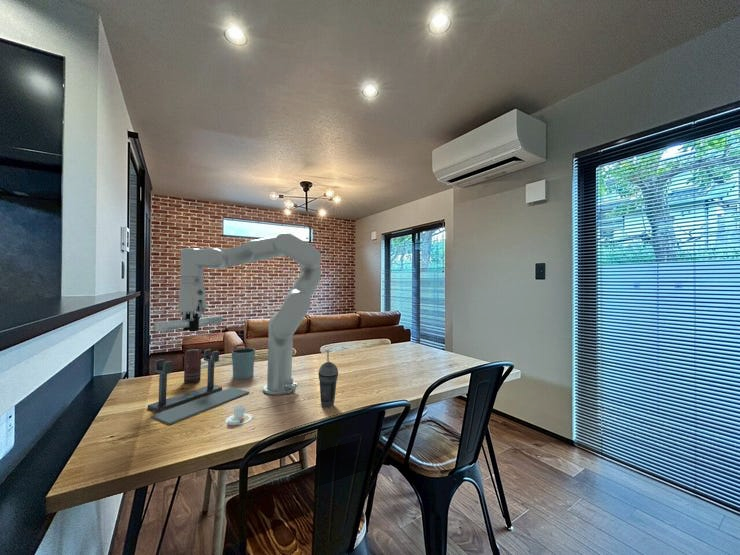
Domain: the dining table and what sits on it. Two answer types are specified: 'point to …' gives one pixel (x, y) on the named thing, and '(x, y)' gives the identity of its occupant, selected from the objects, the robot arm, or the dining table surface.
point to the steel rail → (185, 323)
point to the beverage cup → (328, 383)
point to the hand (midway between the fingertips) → (190, 330)
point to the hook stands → (164, 403)
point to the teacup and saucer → (238, 416)
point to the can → (192, 365)
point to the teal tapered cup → (243, 363)
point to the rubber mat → (198, 405)
